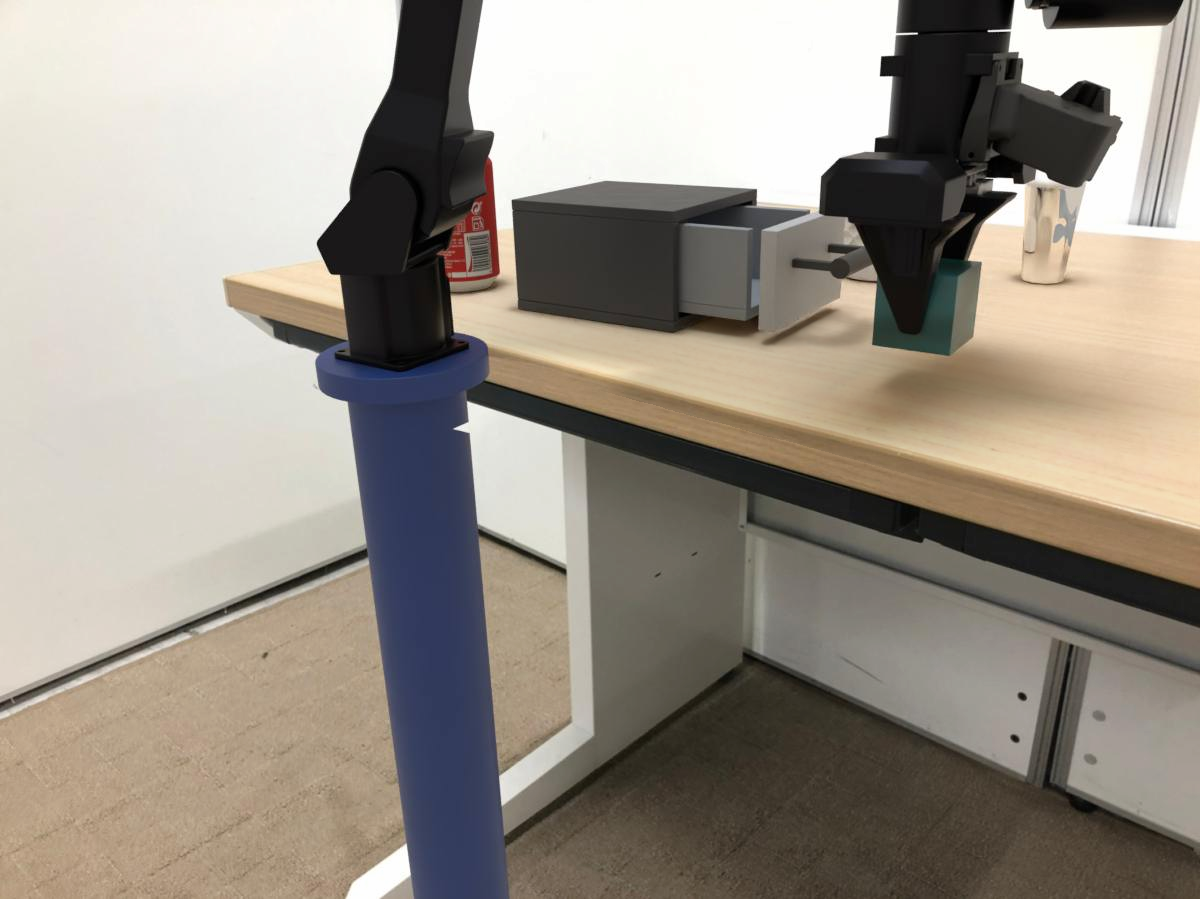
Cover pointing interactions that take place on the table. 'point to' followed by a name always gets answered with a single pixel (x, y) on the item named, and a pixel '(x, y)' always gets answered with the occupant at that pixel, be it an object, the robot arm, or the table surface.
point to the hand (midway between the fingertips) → (924, 324)
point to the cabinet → (610, 250)
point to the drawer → (763, 263)
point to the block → (935, 312)
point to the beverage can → (475, 244)
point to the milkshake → (1048, 228)
